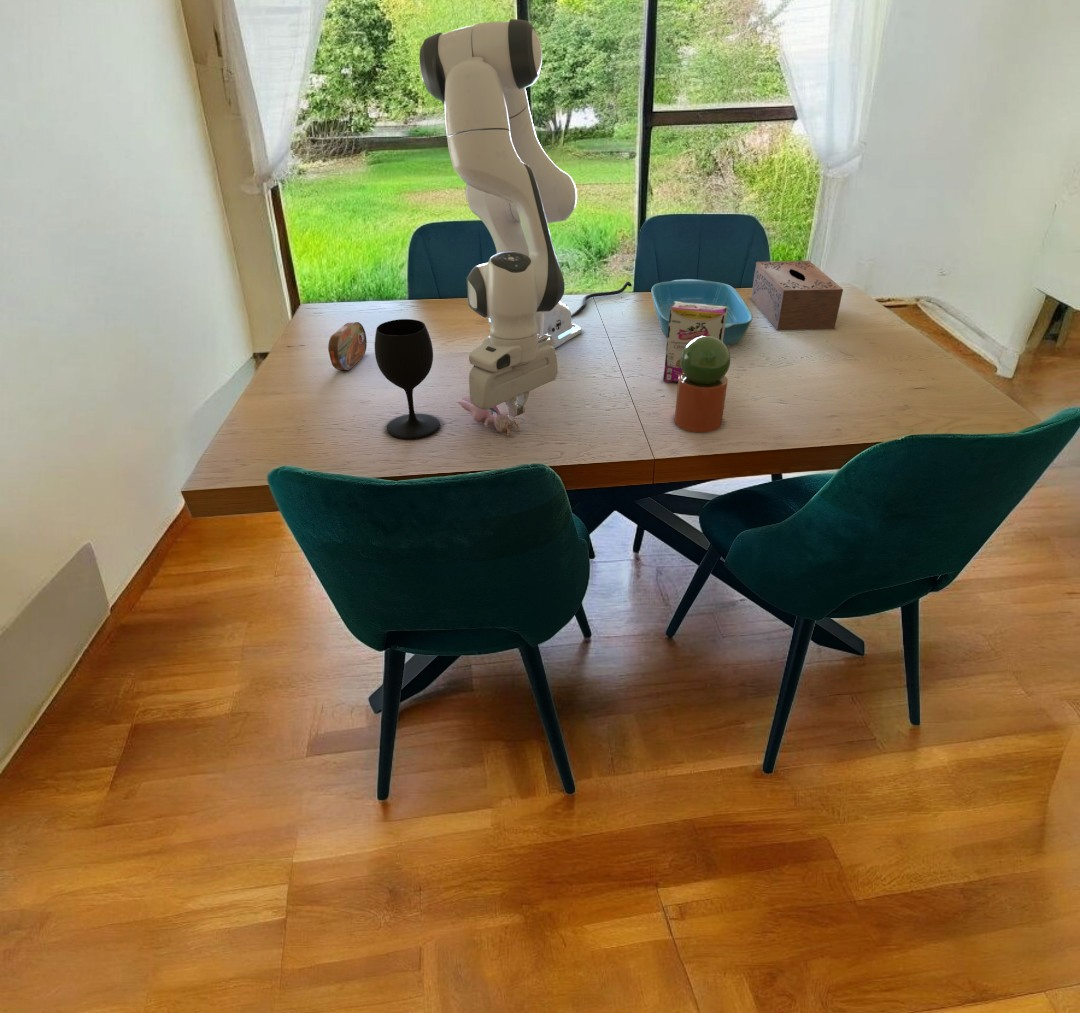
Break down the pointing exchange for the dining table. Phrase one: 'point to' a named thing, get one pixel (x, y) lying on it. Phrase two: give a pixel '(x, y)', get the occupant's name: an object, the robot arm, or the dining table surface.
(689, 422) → the potted herb
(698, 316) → the candy bar box
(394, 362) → the wine glass
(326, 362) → the dining table surface
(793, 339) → the dining table surface
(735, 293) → the casserole dish
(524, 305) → the robot arm
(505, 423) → the rabbit figure
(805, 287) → the tissue box cover
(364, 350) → the tin
